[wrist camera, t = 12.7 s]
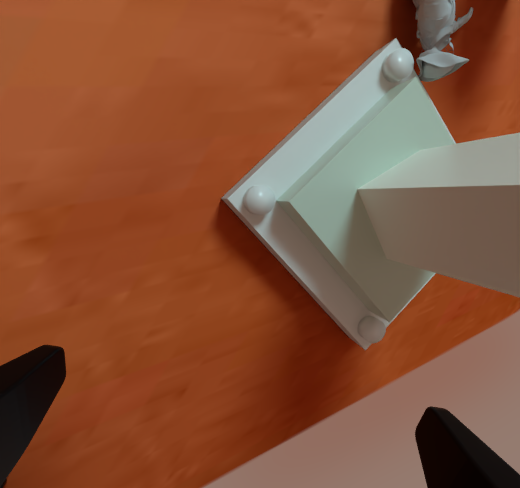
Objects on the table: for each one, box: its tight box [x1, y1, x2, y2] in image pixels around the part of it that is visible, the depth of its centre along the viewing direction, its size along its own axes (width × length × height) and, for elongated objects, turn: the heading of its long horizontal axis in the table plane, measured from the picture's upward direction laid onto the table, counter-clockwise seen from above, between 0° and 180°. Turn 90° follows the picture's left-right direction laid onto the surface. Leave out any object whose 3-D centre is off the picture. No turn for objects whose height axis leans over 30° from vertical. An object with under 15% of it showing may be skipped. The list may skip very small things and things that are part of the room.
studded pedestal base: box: [221, 38, 456, 350], centre depth 20 cm, size 14×14×4 cm
